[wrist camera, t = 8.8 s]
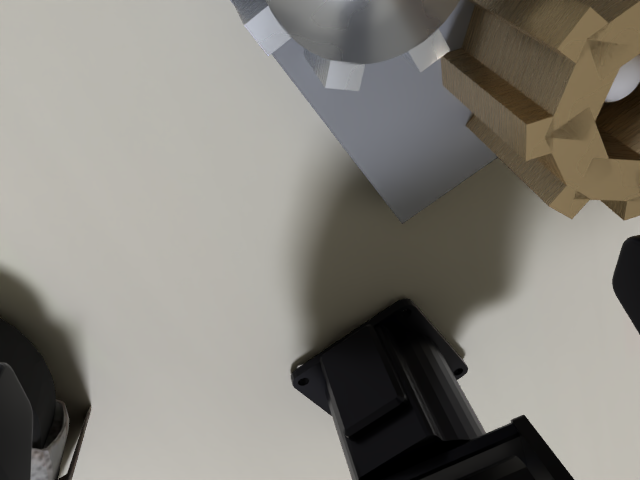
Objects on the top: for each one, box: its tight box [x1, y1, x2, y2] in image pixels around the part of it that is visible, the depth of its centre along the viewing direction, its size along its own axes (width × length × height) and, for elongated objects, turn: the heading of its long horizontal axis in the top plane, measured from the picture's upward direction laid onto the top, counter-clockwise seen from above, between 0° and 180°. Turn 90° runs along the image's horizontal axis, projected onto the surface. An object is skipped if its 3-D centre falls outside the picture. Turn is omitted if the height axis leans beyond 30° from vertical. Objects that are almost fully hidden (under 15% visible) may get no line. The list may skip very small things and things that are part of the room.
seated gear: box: [441, 0, 640, 220], centre depth 16 cm, size 7×7×5 cm
